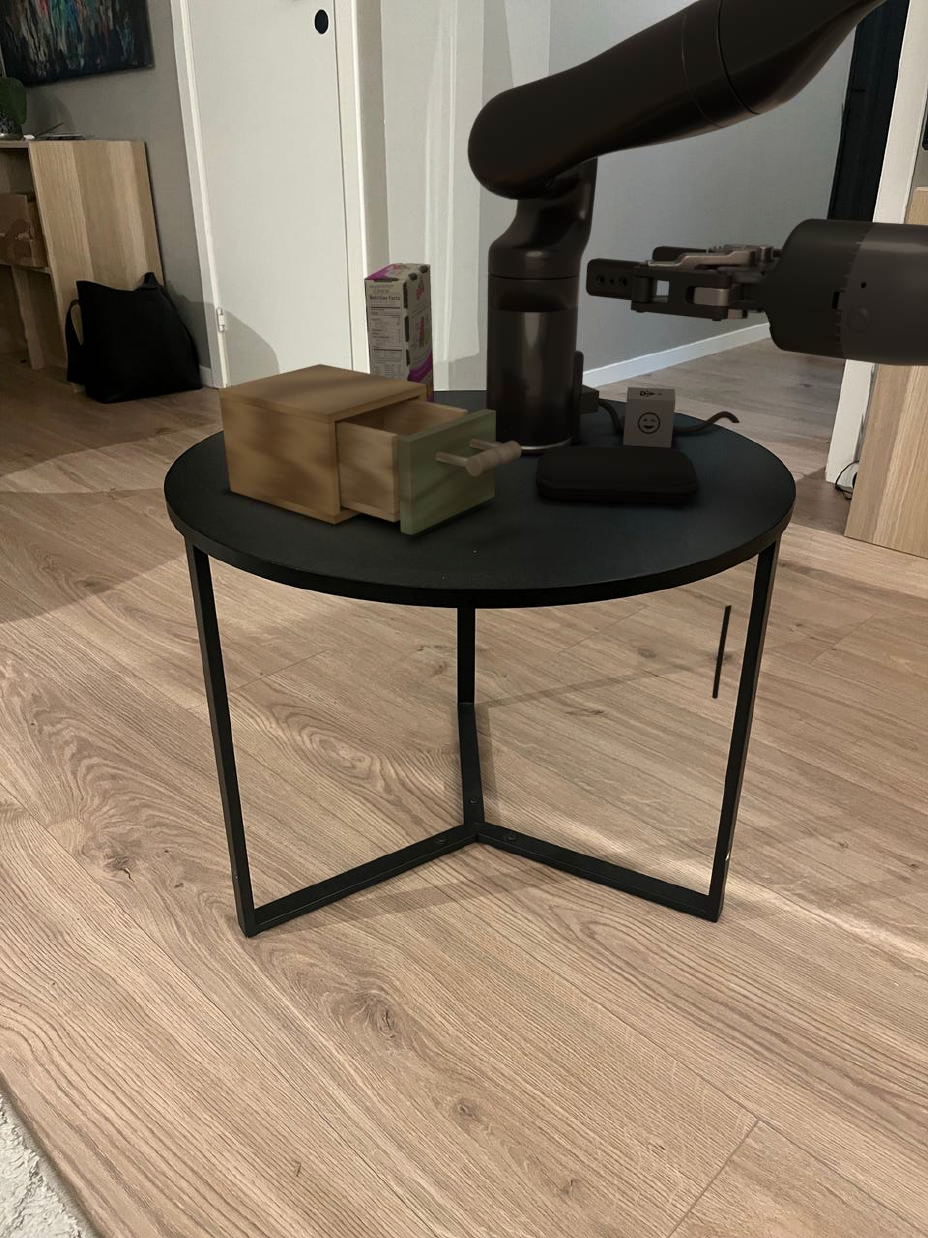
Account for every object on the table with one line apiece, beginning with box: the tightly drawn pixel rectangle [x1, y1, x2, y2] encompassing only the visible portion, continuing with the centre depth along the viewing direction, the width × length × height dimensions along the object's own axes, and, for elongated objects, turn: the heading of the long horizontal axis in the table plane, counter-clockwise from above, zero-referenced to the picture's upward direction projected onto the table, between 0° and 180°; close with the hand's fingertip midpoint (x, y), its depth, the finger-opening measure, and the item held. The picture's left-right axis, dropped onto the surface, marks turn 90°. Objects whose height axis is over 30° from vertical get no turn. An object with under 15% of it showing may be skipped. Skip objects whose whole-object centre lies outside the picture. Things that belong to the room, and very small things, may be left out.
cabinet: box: [218, 363, 427, 525], centre depth 87 cm, size 14×13×10 cm
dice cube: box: [622, 386, 676, 449], centre depth 102 cm, size 5×5×5 cm
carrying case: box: [535, 445, 701, 505], centre depth 89 cm, size 11×3×15 cm
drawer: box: [334, 398, 522, 536], centre depth 81 cm, size 17×11×8 cm, turn 52°
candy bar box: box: [363, 262, 436, 403], centre depth 107 cm, size 11×5×16 cm, turn 168°
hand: (622, 269), depth 63 cm, fingers open, 8 cm apart
